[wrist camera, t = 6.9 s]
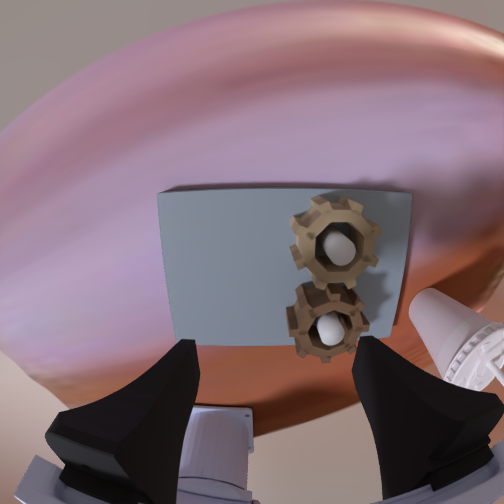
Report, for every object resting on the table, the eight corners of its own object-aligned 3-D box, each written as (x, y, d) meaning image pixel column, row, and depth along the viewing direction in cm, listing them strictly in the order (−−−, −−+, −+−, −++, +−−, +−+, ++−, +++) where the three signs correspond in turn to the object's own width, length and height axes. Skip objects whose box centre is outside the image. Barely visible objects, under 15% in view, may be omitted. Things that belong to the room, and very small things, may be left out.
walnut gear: (362, 322, 20) (374, 344, 18) (300, 347, 21) (305, 371, 18) (345, 265, 19) (359, 282, 16) (276, 293, 20) (279, 314, 17)
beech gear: (360, 270, 19) (375, 287, 16) (288, 272, 19) (293, 291, 16) (366, 196, 17) (384, 202, 15) (289, 195, 18) (295, 200, 15)
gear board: (384, 329, 22) (405, 360, 17) (180, 335, 22) (165, 370, 18) (404, 192, 18) (439, 201, 14) (162, 191, 19) (135, 200, 14)
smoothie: (460, 287, 21) (553, 368, 7) (425, 341, 23) (496, 440, 9) (421, 262, 20) (535, 357, 7) (383, 325, 22) (458, 447, 9)
